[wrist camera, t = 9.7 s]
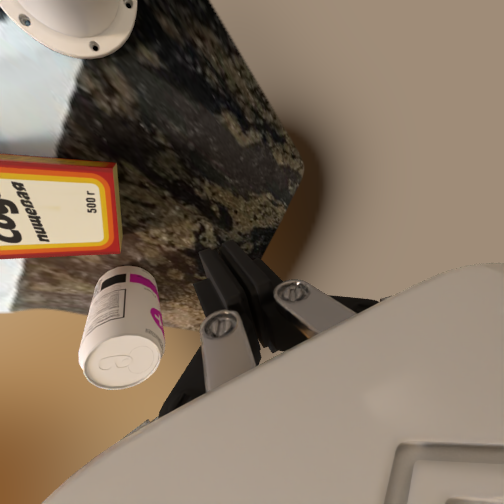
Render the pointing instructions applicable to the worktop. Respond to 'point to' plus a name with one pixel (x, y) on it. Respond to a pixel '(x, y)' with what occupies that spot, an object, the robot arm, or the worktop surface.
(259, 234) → the worktop surface
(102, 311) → the supplement can
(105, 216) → the baking soda box
